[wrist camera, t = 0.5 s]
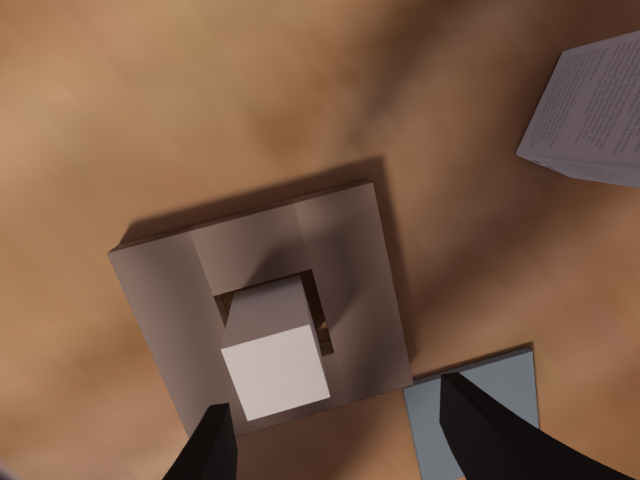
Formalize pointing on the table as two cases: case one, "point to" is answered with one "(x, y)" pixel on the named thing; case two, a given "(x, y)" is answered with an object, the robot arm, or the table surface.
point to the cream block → (273, 349)
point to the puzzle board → (260, 266)
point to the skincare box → (591, 114)
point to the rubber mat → (489, 375)
